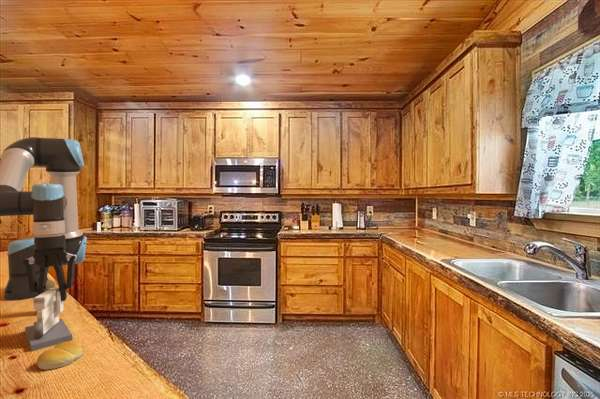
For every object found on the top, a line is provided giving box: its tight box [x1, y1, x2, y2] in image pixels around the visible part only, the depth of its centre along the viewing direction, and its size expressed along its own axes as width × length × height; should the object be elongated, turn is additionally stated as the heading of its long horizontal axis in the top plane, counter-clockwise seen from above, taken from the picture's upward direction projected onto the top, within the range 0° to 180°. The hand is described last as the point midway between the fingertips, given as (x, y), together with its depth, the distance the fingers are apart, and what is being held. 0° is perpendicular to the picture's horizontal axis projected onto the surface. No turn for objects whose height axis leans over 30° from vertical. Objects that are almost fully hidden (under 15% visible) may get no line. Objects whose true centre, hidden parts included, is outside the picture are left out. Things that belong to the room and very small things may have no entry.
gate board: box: [24, 318, 73, 352], centre depth 95 cm, size 17×9×2 cm, turn 44°
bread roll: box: [36, 341, 84, 371], centre depth 81 cm, size 8×9×4 cm
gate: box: [32, 287, 60, 338], centre depth 95 cm, size 12×3×10 cm, turn 15°
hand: (53, 312), depth 99 cm, fingers open, 3 cm apart
